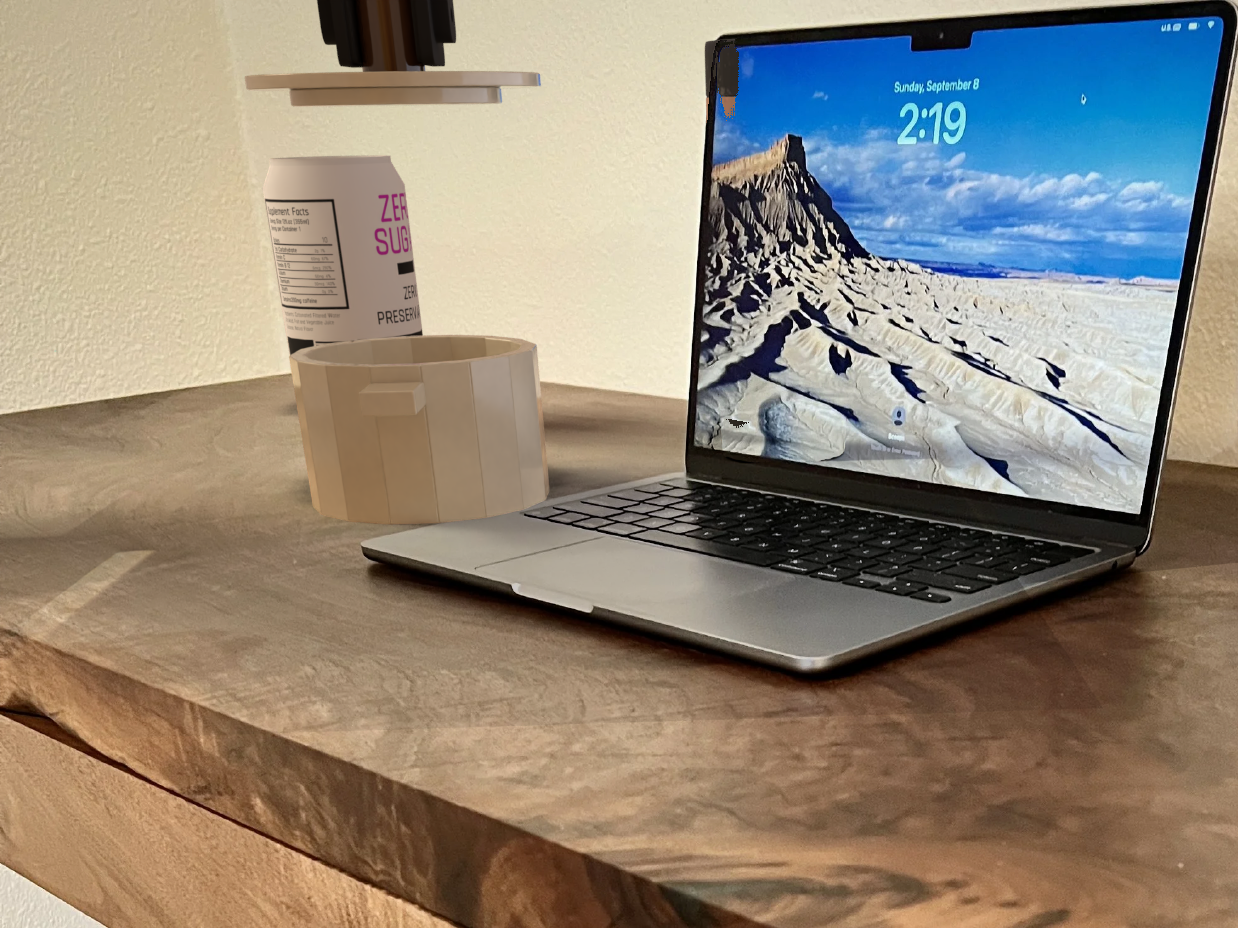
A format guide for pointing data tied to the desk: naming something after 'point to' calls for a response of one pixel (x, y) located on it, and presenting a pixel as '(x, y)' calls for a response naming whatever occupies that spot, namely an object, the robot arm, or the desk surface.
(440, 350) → the pot
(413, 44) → the lid
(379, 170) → the supplement can
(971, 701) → the desk surface
